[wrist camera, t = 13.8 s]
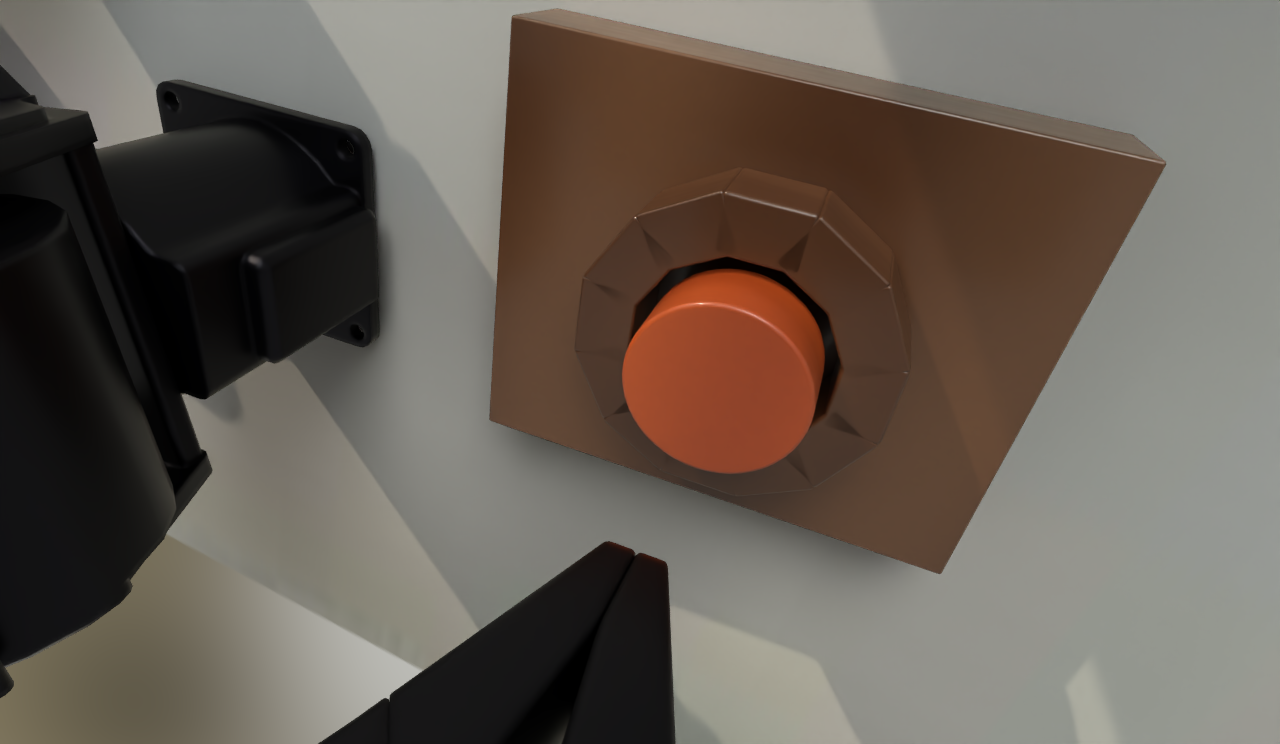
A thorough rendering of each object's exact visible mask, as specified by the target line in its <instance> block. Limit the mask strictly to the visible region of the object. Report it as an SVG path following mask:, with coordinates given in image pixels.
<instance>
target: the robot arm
mask: <svg viewBox="0 0 1280 744" xmlns="http://www.w3.org/2000/svg"><path fill="white" fill-rule="evenodd" d="M156 94H157V102H158V107H159V112H160V117H161V122H162V127H163V133H164V134H159V135H155V136H151V137H147V138H142V139H138V140H134V141H130V142H125V143H121V144H117V145H113V146H109V147H104V148H100V149H96V150H95V147H94V144H93V143H94V142H96V141H98V140H97V137H96V134H95V131H94V128H93V125H92V122H91V119H90V117H89V114H88V112H87V111H79V110H70V109H60V108H50V107H43V106H39V104H38V102H37V99H36V97H35V95H30V94H29V93H28V92H27V91H26V90H25V89H24V88H23V87H22V86H21V85H20V84H19V83H18V82H17V81H16V80H15V79H14V78H13V77H12V76H11V75H10V74H9V73H8V72H7V71H6V70H5V69H4V68H3V67H2V66H1V65H0V698H1V697H3V696H5V695H6V694H7V693H8V692H9V691H11V689H12V688H13V686H14V681H13V680H12V678H11V677H10V675H9V673H8V672H7V670H6V669H5V667H8V666H10V665H13V664H15V663H18V662H20V661H22V660H25V659H28V658H30V657H32V656H34V655H36V654H38V653H40V652H42V651H43V650H45V649H47V648H49V647H51V646H53V645H55V644H56V643H58V642H60V641H62V640H64V639H66V638H67V637H69V636H71V635H73V634H75V633H77V632H79V631H80V630H82V629H84V628H86V627H88V626H89V625H91V624H92V623H94V622H95V621H96V620H98V619H99V618H100V617H102V616H103V615H104V614H106V613H107V612H109V611H110V610H111V609H113V608H114V607H116V606H117V605H118V604H120V603H121V602H122V601H123V600H124V598H125V597H126V596H127V595H128V594H129V593H130V592H131V589H132V583H131V581H130V580H131V578H132V577H133V575H134V574H135V573H136V572H137V570H138V569H139V567H140V566H141V565H142V564H143V562H144V561H145V560H146V559H147V558H148V557H149V556H150V554H151V553H152V552H153V551H154V550H155V549H156V548H157V546H158V545H159V544H160V543H161V542H162V541H163V540H164V537H165V535H166V533H167V531H168V530H169V528H170V527H171V526H172V524H173V523H174V522H175V520H176V519H177V518H178V516H179V515H180V514H181V512H182V511H183V510H184V509H185V507H186V506H187V505H188V503H189V502H190V501H191V499H192V498H193V497H194V495H195V494H196V493H197V491H198V490H199V489H200V488H201V486H202V485H203V484H204V482H205V481H206V480H207V478H208V477H209V476H210V474H211V473H212V471H213V470H212V467H211V464H210V461H209V459H208V456H207V453H206V451H204V450H201V448H200V445H199V443H198V440H197V437H196V434H195V431H194V428H193V425H192V423H191V420H190V417H189V414H188V411H187V408H186V406H185V403H184V400H183V397H182V395H183V394H184V393H185V394H188V395H191V396H193V397H196V398H199V399H207V398H209V397H210V396H212V395H213V394H215V393H217V392H218V391H220V390H221V389H223V388H225V387H226V386H228V385H229V384H231V383H233V382H234V381H236V380H237V379H239V378H241V377H242V376H244V375H245V374H247V373H249V372H250V371H252V370H253V369H255V368H257V367H258V366H260V365H261V364H263V363H265V362H266V361H268V362H271V363H274V364H275V363H278V362H280V361H282V360H283V359H285V358H286V357H288V356H290V355H291V354H293V353H294V352H296V351H297V350H299V349H301V348H302V347H304V346H305V345H307V344H308V343H310V342H311V341H313V340H315V339H316V338H318V337H319V336H321V335H325V336H328V337H331V338H334V339H337V340H340V341H343V342H346V343H349V344H352V345H355V346H359V347H365V346H368V345H369V344H371V343H372V342H373V341H375V340H376V339H377V338H378V336H379V308H378V297H379V283H378V259H377V235H376V219H375V213H374V190H373V166H372V149H371V144H370V141H369V139H368V137H367V136H366V134H365V133H364V132H363V131H362V130H360V129H358V128H356V127H354V126H351V125H347V124H343V123H340V122H336V121H332V120H328V119H325V118H321V117H317V116H314V115H310V114H306V113H302V112H299V111H295V110H291V109H287V108H284V107H280V106H276V105H272V104H269V103H265V102H261V101H258V100H254V99H250V98H246V97H243V96H239V95H235V94H231V93H228V92H224V91H220V90H217V89H213V88H209V87H205V86H202V85H198V84H194V83H190V82H187V81H183V80H170V81H164V82H162V83H160V84H159V85H158V87H157V90H156ZM176 97H177V98H178V101H179V102H178V101H177V98H176ZM347 140H348V141H349V142H350V143H351V144H352V146H353V149H354V154H352V153H351V152H350V150H349V149H348V146H347ZM358 326H360V327H361V329H362V330H363V332H364V333H363V332H362V331H361V330H360V329H359V327H358ZM319 744H675V720H674V697H673V674H672V651H671V628H670V605H669V582H668V566H667V564H666V562H665V561H663V560H660V559H657V558H654V557H652V556H649V555H646V554H643V553H638V554H637V555H635V552H634V551H633V550H632V549H630V548H627V547H624V546H621V545H619V544H616V543H613V542H610V541H608V542H604V543H602V544H601V545H599V546H598V547H596V548H595V549H594V550H592V551H591V552H589V553H588V554H587V555H585V556H584V557H582V558H581V559H580V560H578V561H577V562H575V563H574V564H573V565H571V566H570V567H568V568H567V569H566V570H564V571H563V572H561V573H560V574H558V575H557V576H556V577H554V578H553V579H551V580H550V581H549V582H547V583H546V584H544V585H543V586H542V587H540V588H539V589H537V590H536V591H535V592H533V593H532V594H530V595H529V596H528V597H526V598H525V599H523V600H522V601H521V602H519V603H518V604H516V605H515V606H514V607H512V608H511V609H509V610H508V611H506V612H505V613H504V614H502V615H501V616H499V617H498V618H497V619H495V620H494V621H492V622H491V623H490V624H488V625H487V626H485V627H484V628H483V629H481V630H480V631H478V632H477V633H476V634H474V635H473V636H471V637H470V638H469V639H467V640H466V641H464V642H463V643H462V644H460V645H459V646H457V647H456V648H454V649H453V650H452V651H450V652H449V653H447V654H446V655H445V656H443V657H442V658H440V659H439V660H438V661H436V662H435V663H433V664H432V665H431V666H429V667H428V668H426V669H425V670H424V671H422V672H421V673H419V674H418V675H417V676H415V677H414V678H412V679H411V680H409V681H408V682H407V683H405V684H404V685H403V686H401V687H400V688H398V689H397V690H395V691H394V692H393V693H392V694H391V695H390V702H389V699H387V698H384V699H382V700H381V701H379V702H378V703H377V704H375V705H374V706H373V707H371V708H370V709H368V710H367V711H366V712H364V713H363V714H361V715H360V716H359V717H357V718H356V719H354V720H353V721H351V722H350V723H348V724H347V725H345V726H344V727H342V728H341V729H339V730H338V731H336V732H335V733H333V734H332V735H331V736H329V737H328V738H326V739H325V740H323V741H322V742H320V743H319Z"/></svg>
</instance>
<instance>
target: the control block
mask: <svg viewBox="0 0 1280 744" xmlns="http://www.w3.org/2000/svg"><path fill="white" fill-rule="evenodd" d="M1165 166H1166V162H1165V161H1164V160H1163V159H1162V158H1161V157H1159V156H1158V155H1157V154H1156V153H1154V152H1153V151H1152V150H1151V149H1150V148H1148V147H1147V146H1146V145H1145V144H1144V143H1142V142H1141V141H1140V140H1139V139H1138V138H1136V137H1135V136H1134V135H1131V134H1127V133H1122V132H1118V131H1113V130H1108V129H1104V128H1099V127H1095V126H1090V125H1086V124H1081V123H1077V122H1072V121H1067V120H1063V119H1058V118H1054V117H1049V116H1045V115H1040V114H1036V113H1031V112H1026V111H1022V110H1017V109H1013V108H1008V107H1004V106H999V105H995V104H990V103H986V102H981V101H976V100H972V99H967V98H963V97H958V96H954V95H949V94H945V93H940V92H935V91H931V90H926V89H922V88H917V87H913V86H908V85H904V84H899V83H894V82H890V81H885V80H881V79H876V78H872V77H867V76H863V75H858V74H854V73H849V72H844V71H840V70H835V69H831V68H826V67H822V66H817V65H813V64H808V63H803V62H799V61H794V60H790V59H785V58H781V57H776V56H772V55H767V54H763V53H758V52H753V51H749V50H744V49H740V48H735V47H731V46H726V45H722V44H717V43H712V42H708V41H703V40H699V39H694V38H690V37H685V36H681V35H676V34H671V33H667V32H662V31H658V30H653V29H649V28H644V27H640V26H635V25H631V24H626V23H621V22H617V21H612V20H608V19H603V18H599V17H594V16H590V15H585V14H580V13H576V12H571V11H567V10H562V9H551V10H545V11H538V12H531V13H524V14H518V15H513V16H512V21H511V39H510V57H509V75H508V93H507V111H506V129H505V147H504V165H503V183H502V201H501V220H500V238H499V256H498V274H497V292H496V310H495V328H494V346H493V364H492V382H491V400H490V418H489V419H490V421H493V422H496V423H499V424H502V425H504V426H507V427H510V428H513V429H516V430H519V431H522V432H525V433H528V434H531V435H534V436H537V437H540V438H543V439H545V440H548V441H551V442H554V443H557V444H560V445H563V446H566V447H569V448H572V449H575V450H578V451H581V452H584V453H586V454H589V455H592V456H595V457H598V458H601V459H604V460H607V461H610V462H613V463H616V464H619V465H622V466H624V467H627V468H630V469H633V470H636V471H639V472H642V473H645V474H648V475H651V476H654V477H657V478H660V479H663V480H665V481H668V482H671V483H674V484H677V485H680V486H683V487H686V488H689V489H692V490H695V491H698V492H701V493H703V494H706V495H709V496H712V497H715V498H718V499H721V500H724V501H727V502H730V503H733V504H736V505H739V506H742V507H744V508H747V509H750V510H753V511H756V512H759V513H762V514H765V515H768V516H771V517H774V518H777V519H780V520H783V521H785V522H788V523H791V524H794V525H797V526H800V527H803V528H806V529H809V530H812V531H815V532H818V533H821V534H823V535H826V536H829V537H832V538H835V539H838V540H841V541H844V542H847V543H850V544H853V545H856V546H859V547H862V548H864V549H867V550H870V551H873V552H876V553H879V554H882V555H885V556H888V557H891V558H894V559H897V560H900V561H903V562H905V563H908V564H911V565H914V566H917V567H920V568H923V569H926V570H929V571H932V572H935V573H938V574H941V573H942V571H943V569H944V567H945V566H946V564H947V562H948V560H949V558H950V557H951V555H952V553H953V551H954V549H955V547H956V546H957V544H958V542H959V540H960V538H961V537H962V535H963V533H964V531H965V529H966V527H967V526H968V524H969V522H970V520H971V518H972V517H973V515H974V513H975V511H976V509H977V507H978V506H979V504H980V502H981V500H982V498H983V497H984V495H985V493H986V491H987V489H988V487H989V486H990V484H991V482H992V480H993V478H994V477H995V475H996V473H997V471H998V469H999V467H1000V466H1001V464H1002V462H1003V460H1004V458H1005V457H1006V455H1007V453H1008V451H1009V449H1010V447H1011V446H1012V444H1013V442H1014V440H1015V438H1016V437H1017V435H1018V433H1019V431H1020V429H1021V427H1022V426H1023V424H1024V422H1025V420H1026V418H1027V417H1028V415H1029V413H1030V411H1031V409H1032V407H1033V406H1034V404H1035V402H1036V400H1037V398H1038V397H1039V395H1040V393H1041V391H1042V389H1043V388H1044V386H1045V384H1046V382H1047V380H1048V378H1049V377H1050V375H1051V373H1052V371H1053V369H1054V368H1055V366H1056V364H1057V362H1058V360H1059V358H1060V357H1061V355H1062V353H1063V351H1064V349H1065V348H1066V346H1067V344H1068V342H1069V340H1070V338H1071V337H1072V335H1073V333H1074V331H1075V329H1076V328H1077V326H1078V324H1079V322H1080V320H1081V318H1082V317H1083V315H1084V313H1085V311H1086V309H1087V308H1088V306H1089V304H1090V302H1091V300H1092V298H1093V297H1094V295H1095V293H1096V291H1097V289H1098V288H1099V286H1100V284H1101V282H1102V280H1103V278H1104V277H1105V275H1106V273H1107V271H1108V269H1109V268H1110V266H1111V264H1112V262H1113V260H1114V258H1115V257H1116V255H1117V253H1118V251H1119V249H1120V248H1121V246H1122V244H1123V242H1124V240H1125V238H1126V237H1127V235H1128V233H1129V231H1130V229H1131V228H1132V226H1133V224H1134V222H1135V220H1136V218H1137V217H1138V215H1139V213H1140V211H1141V209H1142V208H1143V206H1144V204H1145V202H1146V200H1147V198H1148V197H1149V195H1150V193H1151V191H1152V189H1153V188H1154V186H1155V184H1156V182H1157V180H1158V178H1159V177H1160V175H1161V173H1162V171H1163V169H1164V168H1165ZM729 268H730V269H741V270H746V271H751V272H755V273H758V274H761V275H764V276H767V277H769V278H771V279H773V280H775V281H777V282H779V283H780V284H782V285H783V286H785V287H786V288H788V289H789V290H790V291H791V292H793V293H794V294H795V295H796V296H797V297H798V298H799V299H800V300H801V301H802V302H803V303H804V304H805V305H806V306H807V308H808V309H809V311H810V312H811V314H812V315H813V317H814V319H815V320H816V322H817V324H818V326H819V329H820V332H821V335H822V338H823V343H824V348H825V365H824V372H823V377H822V381H821V386H820V390H819V395H818V399H817V404H816V408H815V412H814V416H813V420H812V423H811V425H810V428H809V430H808V432H807V434H806V435H805V437H804V438H803V440H802V441H801V443H800V444H799V445H798V446H797V447H796V448H795V449H794V450H793V451H792V452H791V453H789V454H788V455H787V456H786V457H784V458H783V459H781V460H780V461H778V462H776V463H775V464H772V465H770V466H768V467H766V468H763V469H760V470H756V471H753V472H746V473H737V474H724V473H715V472H709V471H704V470H701V469H697V468H694V467H692V466H689V465H686V464H684V463H682V462H680V461H678V460H676V459H674V458H673V457H671V456H669V455H668V454H666V453H665V452H663V451H662V450H661V449H660V448H658V447H657V446H656V445H655V444H654V443H653V442H652V441H651V440H650V439H649V438H648V437H647V436H646V435H645V434H644V433H643V431H642V430H641V429H640V428H639V426H638V425H637V423H636V421H635V420H634V418H633V416H632V414H631V412H630V410H629V408H628V405H627V402H626V399H625V395H624V390H623V383H622V369H623V361H624V357H625V353H626V351H627V348H628V346H629V343H630V342H631V340H632V338H633V337H634V335H635V333H636V332H637V331H638V329H639V328H640V327H641V325H642V324H643V323H644V321H645V320H646V319H647V317H648V316H649V315H650V313H651V312H652V311H653V309H654V308H655V307H656V305H657V304H658V302H659V301H660V300H661V299H662V297H663V296H664V295H665V294H666V293H667V292H668V291H669V290H670V289H671V288H672V287H673V286H675V285H676V284H678V283H679V282H681V281H682V280H684V279H686V278H688V277H690V276H692V275H694V274H697V273H700V272H704V271H708V270H714V269H729Z"/></svg>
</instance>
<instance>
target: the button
mask: <svg viewBox="0 0 1280 744" xmlns="http://www.w3.org/2000/svg"><path fill="white" fill-rule="evenodd" d="M824 365H825V348H824V343H823V338H822V335H821V332H820V329H819V326H818V324H817V322H816V320H815V319H814V317H813V315H812V314H811V312H810V311H809V309H808V308H807V306H806V305H805V304H804V303H803V302H802V301H801V300H800V299H799V298H798V297H797V296H796V295H795V294H794V293H793V292H791V291H790V290H789V289H788V288H786V287H785V286H783V285H782V284H780V283H779V282H777V281H775V280H773V279H771V278H769V277H767V276H764V275H761V274H758V273H755V272H751V271H746V270H741V269H730V268H729V269H714V270H708V271H704V272H700V273H697V274H694V275H692V276H690V277H688V278H686V279H684V280H682V281H681V282H679V283H678V284H676V285H675V286H673V287H672V288H671V289H670V290H669V291H668V292H667V293H666V294H665V295H664V296H663V297H662V299H661V300H660V301H659V302H658V304H657V305H656V307H655V308H654V309H653V311H652V312H651V313H650V315H649V316H648V317H647V319H646V320H645V321H644V323H643V324H642V325H641V327H640V328H639V329H638V331H637V332H636V333H635V335H634V337H633V338H632V340H631V342H630V343H629V346H628V348H627V351H626V353H625V357H624V361H623V369H622V383H623V390H624V395H625V399H626V402H627V405H628V408H629V410H630V412H631V414H632V416H633V418H634V420H635V421H636V423H637V425H638V426H639V428H640V429H641V430H642V431H643V433H644V434H645V435H646V436H647V437H648V438H649V439H650V440H651V441H652V442H653V443H654V444H655V445H656V446H657V447H658V448H660V449H661V450H662V451H663V452H665V453H666V454H668V455H669V456H671V457H673V458H674V459H676V460H678V461H680V462H682V463H684V464H686V465H689V466H692V467H694V468H697V469H701V470H704V471H709V472H715V473H724V474H737V473H746V472H753V471H756V470H760V469H763V468H766V467H768V466H770V465H772V464H775V463H776V462H778V461H780V460H781V459H783V458H784V457H786V456H787V455H788V454H789V453H791V452H792V451H793V450H794V449H795V448H796V447H797V446H798V445H799V444H800V443H801V441H802V440H803V438H804V437H805V435H806V434H807V432H808V430H809V428H810V425H811V423H812V420H813V416H814V412H815V408H816V404H817V399H818V395H819V390H820V386H821V381H822V377H823V372H824Z"/></svg>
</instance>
